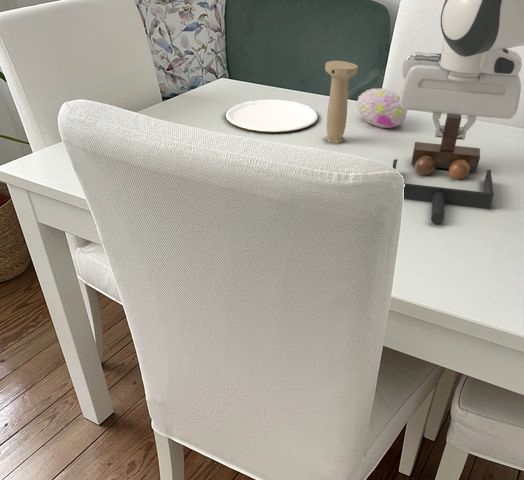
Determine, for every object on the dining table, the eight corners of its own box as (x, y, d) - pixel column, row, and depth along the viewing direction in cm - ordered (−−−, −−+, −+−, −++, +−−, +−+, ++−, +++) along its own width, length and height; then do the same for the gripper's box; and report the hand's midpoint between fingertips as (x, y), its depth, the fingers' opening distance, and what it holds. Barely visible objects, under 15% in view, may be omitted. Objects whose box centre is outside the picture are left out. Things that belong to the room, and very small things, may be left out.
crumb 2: (465, 184, 106) (468, 167, 106) (469, 174, 102) (472, 156, 103) (446, 182, 106) (448, 165, 107) (449, 172, 103) (452, 154, 104)
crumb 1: (431, 181, 106) (433, 171, 108) (436, 163, 103) (437, 153, 105) (412, 178, 106) (414, 168, 109) (416, 160, 104) (418, 150, 106)
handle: (339, 149, 116) (346, 70, 106) (315, 141, 119) (320, 63, 110) (353, 143, 119) (362, 65, 109) (330, 135, 122) (336, 59, 112)
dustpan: (486, 185, 104) (490, 169, 102) (491, 234, 90) (496, 216, 88) (391, 174, 107) (394, 159, 105) (382, 220, 93) (384, 203, 91)
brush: (475, 163, 109) (488, 115, 103) (476, 171, 106) (489, 122, 100) (412, 156, 111) (420, 109, 106) (411, 164, 108) (419, 116, 103)
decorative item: (371, 90, 130) (387, 63, 121) (402, 127, 131) (421, 103, 121) (343, 112, 128) (358, 86, 119) (375, 149, 129) (392, 127, 119)
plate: (208, 125, 126) (208, 120, 125) (252, 99, 140) (252, 94, 139) (294, 142, 119) (294, 136, 118) (331, 113, 133) (331, 107, 132)
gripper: (404, 55, 96) (391, 137, 105) (532, 65, 92) (507, 149, 101) (406, 47, 101) (394, 126, 110) (528, 55, 97) (505, 136, 106)
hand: (449, 137), depth 105 cm, fingers closed on brush, 2 cm apart
